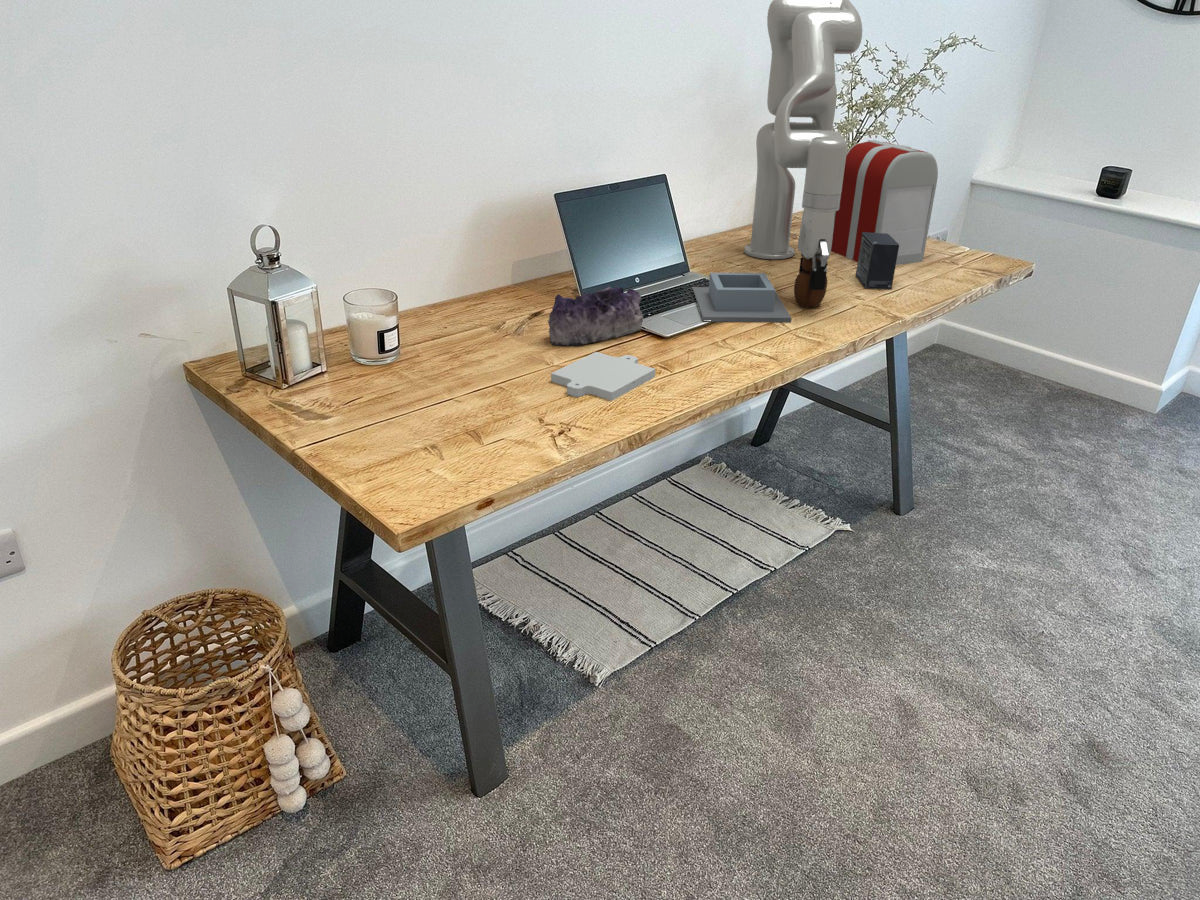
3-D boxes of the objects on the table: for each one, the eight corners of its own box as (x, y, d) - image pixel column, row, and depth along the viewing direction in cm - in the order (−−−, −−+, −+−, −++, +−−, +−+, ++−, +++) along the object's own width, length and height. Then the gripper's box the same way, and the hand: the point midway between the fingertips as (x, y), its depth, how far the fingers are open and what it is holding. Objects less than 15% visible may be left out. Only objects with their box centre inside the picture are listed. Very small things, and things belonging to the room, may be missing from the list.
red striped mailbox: (879, 244, 245) (895, 137, 233) (924, 261, 231) (945, 149, 218) (827, 249, 239) (841, 141, 227) (871, 268, 225) (889, 153, 212)
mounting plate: (602, 407, 152) (603, 397, 151) (541, 387, 158) (541, 377, 158) (662, 374, 165) (663, 364, 164) (604, 357, 171) (604, 347, 170)
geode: (574, 356, 171) (568, 303, 167) (537, 347, 180) (531, 296, 176) (655, 329, 182) (651, 279, 178) (617, 321, 191) (612, 273, 187)
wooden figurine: (804, 311, 195) (813, 241, 188) (787, 303, 200) (795, 234, 193) (829, 307, 198) (838, 237, 191) (812, 299, 202) (820, 231, 196)
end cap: (692, 291, 206) (693, 267, 204) (772, 292, 207) (775, 268, 204) (703, 321, 188) (704, 295, 186) (791, 322, 189) (794, 296, 186)
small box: (893, 289, 210) (901, 244, 205) (864, 289, 210) (871, 243, 205) (882, 276, 219) (889, 232, 214) (854, 275, 219) (860, 231, 214)
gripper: (794, 191, 196) (785, 270, 204) (812, 210, 181) (802, 295, 189) (829, 191, 196) (819, 270, 204) (850, 210, 181) (838, 295, 189)
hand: (811, 282), depth 196 cm, fingers open, 9 cm apart
